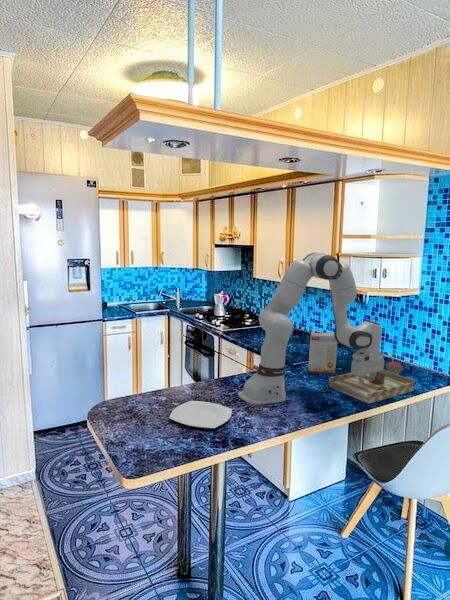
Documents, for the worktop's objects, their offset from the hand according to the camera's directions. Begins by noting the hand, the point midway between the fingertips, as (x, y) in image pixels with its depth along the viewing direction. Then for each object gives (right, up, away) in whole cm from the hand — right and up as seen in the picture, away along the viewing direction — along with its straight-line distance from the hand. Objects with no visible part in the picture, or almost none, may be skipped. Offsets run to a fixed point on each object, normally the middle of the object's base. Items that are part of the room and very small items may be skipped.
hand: (366, 381), depth 204 cm
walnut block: (+7, -1, +5) cm, 8 cm away
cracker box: (-16, 0, +27) cm, 31 cm away
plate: (-78, -7, -37) cm, 87 cm away
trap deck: (+3, -4, +3) cm, 6 cm away
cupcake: (+24, -1, +26) cm, 35 cm away
